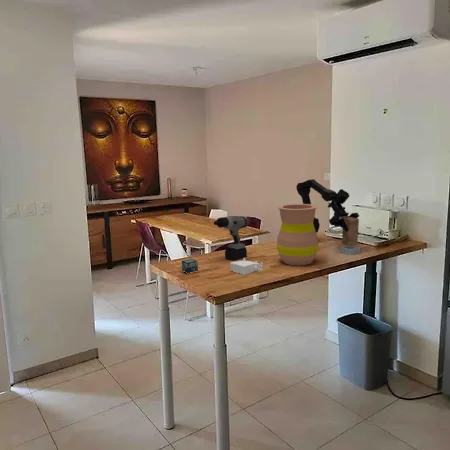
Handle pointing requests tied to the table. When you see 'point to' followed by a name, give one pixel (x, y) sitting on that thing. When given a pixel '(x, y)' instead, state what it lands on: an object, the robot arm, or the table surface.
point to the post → (350, 231)
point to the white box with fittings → (245, 266)
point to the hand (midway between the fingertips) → (351, 230)
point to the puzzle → (190, 265)
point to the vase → (297, 234)
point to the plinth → (350, 250)
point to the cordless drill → (233, 224)
